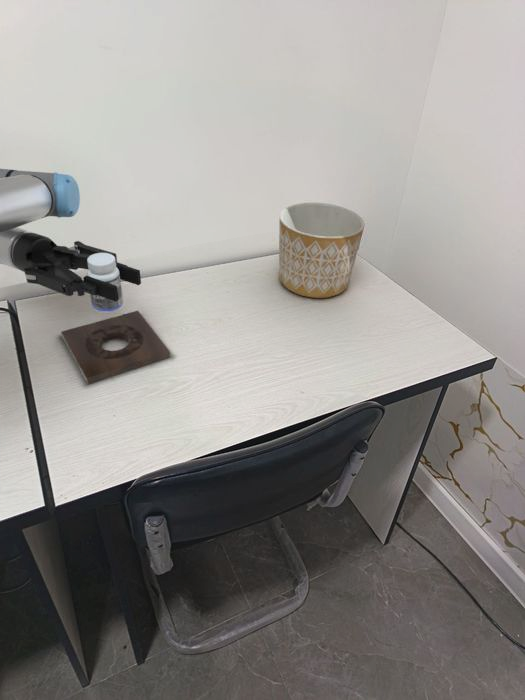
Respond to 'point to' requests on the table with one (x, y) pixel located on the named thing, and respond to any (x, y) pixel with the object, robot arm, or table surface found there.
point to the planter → (318, 248)
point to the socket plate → (110, 363)
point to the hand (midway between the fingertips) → (127, 285)
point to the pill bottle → (105, 270)
